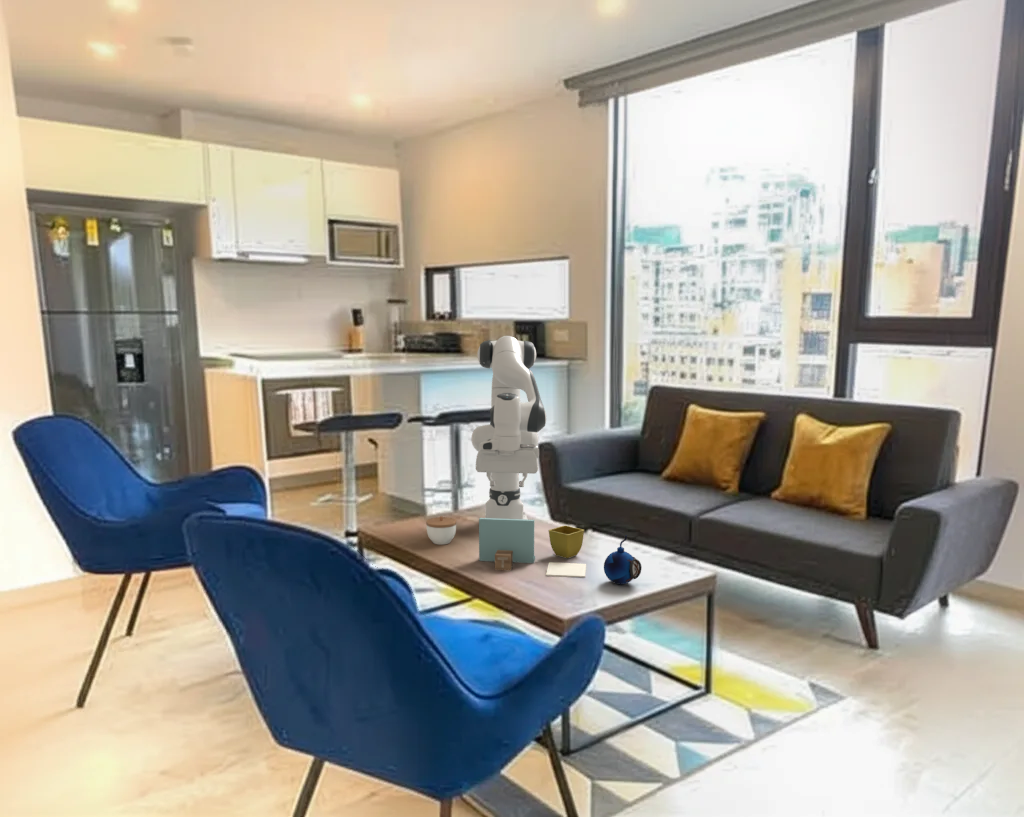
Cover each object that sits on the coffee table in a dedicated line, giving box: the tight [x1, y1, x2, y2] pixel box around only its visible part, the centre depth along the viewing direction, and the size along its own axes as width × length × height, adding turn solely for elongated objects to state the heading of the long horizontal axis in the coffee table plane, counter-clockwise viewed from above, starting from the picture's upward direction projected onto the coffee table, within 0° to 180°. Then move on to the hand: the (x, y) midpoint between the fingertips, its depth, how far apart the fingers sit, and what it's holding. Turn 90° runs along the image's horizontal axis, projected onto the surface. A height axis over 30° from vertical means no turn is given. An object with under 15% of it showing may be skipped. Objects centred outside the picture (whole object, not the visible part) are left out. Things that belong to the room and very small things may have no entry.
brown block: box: [494, 550, 514, 572], centre depth 234 cm, size 5×5×5 cm
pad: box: [545, 561, 587, 578], centre depth 231 cm, size 12×12×1 cm
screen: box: [478, 517, 536, 564], centre depth 241 cm, size 5×18×14 cm, turn 83°
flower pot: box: [548, 525, 585, 559], centre depth 246 cm, size 9×9×9 cm
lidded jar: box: [425, 515, 457, 545], centre depth 262 cm, size 11×11×9 cm
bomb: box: [603, 535, 642, 585], centre depth 219 cm, size 10×11×15 cm
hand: (506, 486), depth 237 cm, fingers open, 8 cm apart
